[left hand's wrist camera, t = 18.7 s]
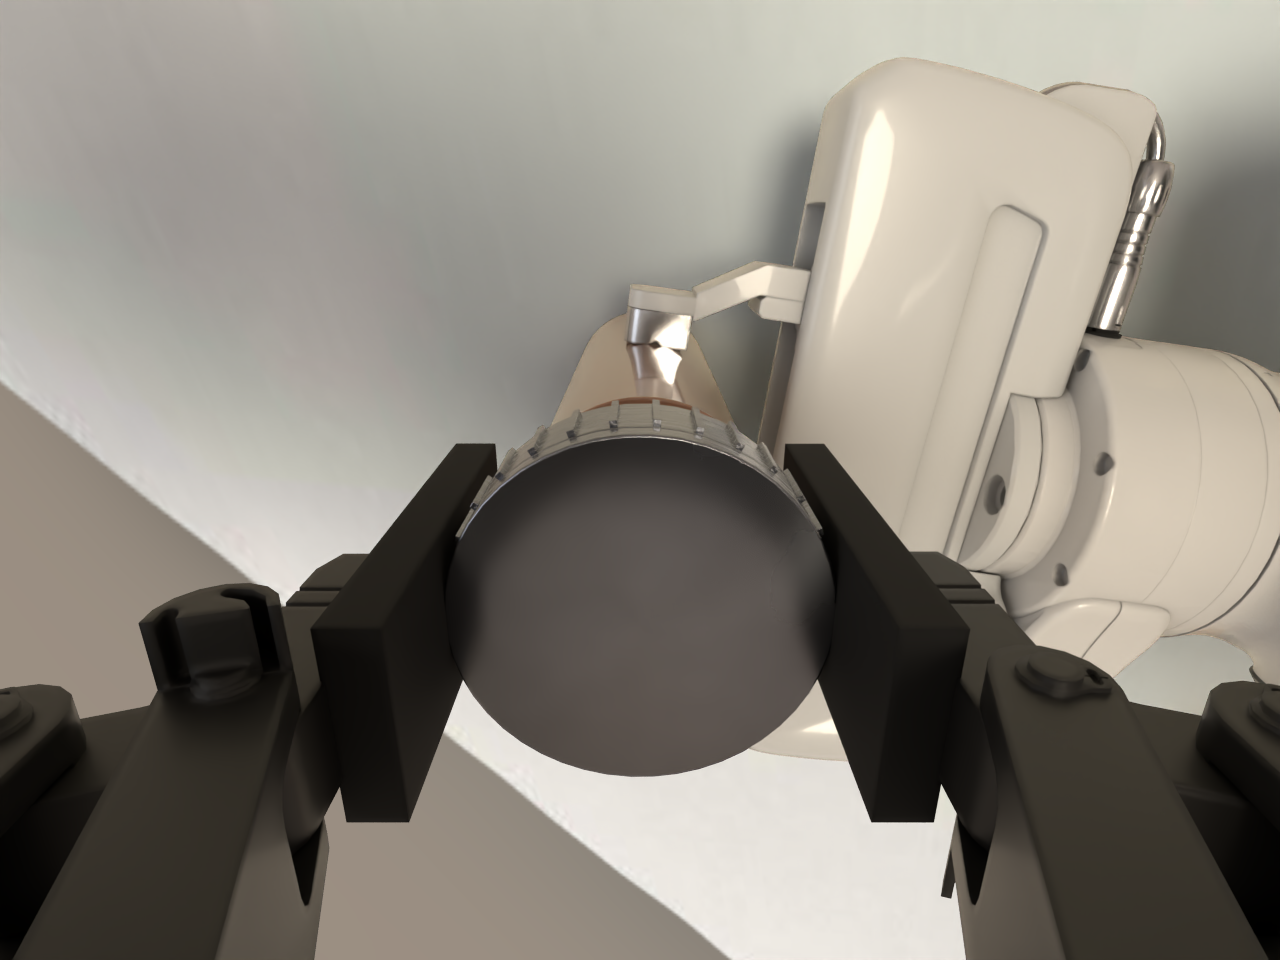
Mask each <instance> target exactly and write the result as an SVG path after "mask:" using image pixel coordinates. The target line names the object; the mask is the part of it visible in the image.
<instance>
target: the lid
mask: <svg viewBox="0 0 1280 960" xmlns="http://www.w3.org/2000/svg"><path fill="white" fill-rule="evenodd" d="M470 508H471V509H470V511H469V512H468V514H467V516H466V518H465V519H464V521H463V523H462V525H461V526H460V528H459V530H458V532H457V533H456V535H455V537H454V540H453V542H455V543H456V545H455V548H454V551H453V554H452V557H451V560H450V563H449V566H448V570H447V576H446V581H445V587H444V602H445V612H446V622H447V631H448V639H449V646H450V649H451V653H452V656H453V659H454V661H455V663H456V666H457V668H458V670H459V672H460V675H461V677H462V679H463V680H464V682H465V683H466V685H467V687H468V688H469V690H470V692H471V693H472V695H473V696H474V697H475V699H476V700H477V701H478V702H479V704H480V705H481V706H482V707H483V709H484V710H485V711H486V712H487V713H488V714H489V715H490V716H491V717H492V718H493V719H494V720H495V721H496V722H497V723H498V724H499V725H500V726H501V727H502V728H503V729H505V730H506V731H507V732H509V733H510V734H511V735H513V736H514V737H515V738H517V739H518V740H519V741H521V742H522V743H524V744H526V745H527V746H529V747H531V748H533V749H534V750H536V751H538V752H540V753H541V754H543V755H546V756H548V757H550V758H553V759H555V760H557V761H559V762H562V763H565V764H568V765H571V766H574V767H577V768H580V769H584V770H588V771H593V772H598V773H603V774H609V775H619V776H630V777H641V776H662V775H671V774H678V773H683V772H687V771H692V770H697V769H701V768H704V767H707V766H710V765H713V764H716V763H719V762H722V761H724V760H726V759H728V758H730V757H732V756H735V755H737V754H739V753H741V752H743V751H745V750H746V749H748V748H750V747H751V746H753V745H755V744H756V743H758V742H760V741H761V740H763V739H764V738H765V737H767V736H768V735H769V734H771V733H772V732H773V731H774V730H776V729H777V728H778V727H780V726H781V725H782V724H783V723H784V722H785V721H786V720H787V719H788V718H789V717H790V716H791V715H792V714H793V713H794V712H795V711H796V710H797V708H798V707H799V706H800V704H801V703H802V702H803V701H804V699H805V698H806V697H807V695H808V694H809V693H810V691H811V690H812V688H813V686H814V684H815V683H816V681H817V679H818V678H819V676H820V674H821V672H822V669H823V667H824V665H825V662H826V660H827V657H828V655H829V652H830V648H831V643H832V635H833V627H834V617H835V608H836V583H835V578H834V573H833V569H832V564H831V561H830V558H829V555H828V553H827V550H826V547H825V545H824V542H823V540H822V538H821V536H820V535H823V534H824V531H823V529H822V527H821V525H820V523H819V521H818V520H817V518H816V516H815V514H814V513H813V511H812V509H811V507H810V506H809V504H808V502H807V501H806V498H805V497H804V495H803V493H802V492H801V490H800V488H799V486H798V485H797V483H796V481H795V479H794V478H793V476H792V474H791V473H790V471H789V470H788V469H786V470H784V471H782V470H781V468H780V467H779V466H778V464H777V463H776V462H775V461H774V459H773V457H772V456H771V454H770V452H769V450H768V448H767V446H766V445H765V444H764V443H763V442H761V443H760V444H759V445H757V444H756V443H755V442H753V441H752V440H751V439H749V438H748V437H747V436H745V435H744V434H743V433H741V432H739V431H738V429H737V427H736V424H735V423H733V422H732V421H729V422H728V424H725V423H723V422H721V421H719V420H716V419H714V418H711V417H709V416H706V415H704V414H701V413H700V410H699V408H697V407H694V406H692V408H691V410H687V409H683V408H679V407H675V406H666V405H660V401H659V400H652V404H622V405H620V404H619V400H616V401H612V404H611V406H607V407H601V408H597V409H594V410H590V411H586V412H583V413H581V411H580V409H577V410H574V411H573V413H572V416H571V417H569V418H567V419H564V420H562V421H560V422H557V423H555V424H553V425H552V426H550V427H548V428H547V429H546V428H545V426H544V425H542V426H540V427H539V428H538V429H537V431H536V433H535V435H534V437H532V438H531V439H530V440H529V441H527V442H526V443H525V444H524V445H522V446H521V447H520V448H518V449H517V450H515V449H514V448H511V449H510V450H509V451H508V453H507V454H506V456H505V458H504V460H503V462H502V463H501V465H500V467H499V469H498V471H497V473H496V474H495V476H494V477H493V478H492V477H491V476H489V475H488V476H487V478H486V479H485V481H484V483H483V485H482V486H481V488H480V490H479V491H478V493H477V495H476V497H475V498H474V500H473V502H472V504H471V505H470Z"/></svg>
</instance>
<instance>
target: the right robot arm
mask: <svg viewBox="0 0 1280 960" xmlns="http://www.w3.org/2000/svg"><path fill="white" fill-rule="evenodd" d="M1146 145H1147V151H1146V160H1141V159H1142V156H1143V153H1144V150H1145V148H1146ZM1165 147H1166V138H1165V132H1164V127H1163V123H1162V120H1161V118H1160V116H1159V114H1158V113H1157V109H1156V106H1155V104H1154V103H1153V102H1152V101H1151V100H1149V99H1148V98H1146V97H1144V96H1143V95H1140V94H1137V93H1135V92H1132V91H1130V90H1127V89H1120V88H1114V87H1108V86H1101V85H1095V84H1089V83H1082V82H1066V83H1061V84H1056V85H1053V86H1051V87H1048V88H1046V89H1043V90H1042V91H1040V92H1037V91H1034V90H1031V89H1028V88H1025V87H1022V86H1020V85H1017V84H1014V83H1011V82H1008V81H1005V80H1002V79H998V78H995V77H991V76H988V75H985V74H981V73H978V72H974V71H970V70H967V69H963V68H959V67H955V66H951V65H946V64H942V63H938V62H933V61H928V60H923V59H917V58H908V57H900V58H894V59H890V60H886V61H884V62H881V63H879V64H877V65H875V66H873V67H871V68H870V69H868V70H866V71H864V72H863V73H861V74H860V75H858V76H857V77H856V78H854V79H853V80H852V81H851V82H849V83H848V84H847V85H846V86H845V87H843V88H842V89H841V90H840V91H839V92H838V93H836V94H835V95H834V96H833V97H832V98H831V99H830V101H829V102H828V103H827V105H826V107H825V110H824V113H823V117H822V122H821V127H820V132H819V136H818V141H817V146H816V151H815V156H814V161H813V166H812V171H811V176H810V181H809V186H808V191H807V196H806V201H805V206H804V211H803V216H802V221H801V226H800V231H799V236H798V241H797V246H796V251H795V256H794V260H793V265H792V266H788V265H781V264H774V263H766V262H759V261H753V262H751V263H749V264H746V265H744V266H741V267H739V268H737V269H734V270H732V271H730V272H727V273H725V274H723V275H720V276H718V277H715V278H713V279H711V280H708V281H706V282H704V283H701V284H699V285H696V286H694V287H693V288H692V291H685V290H678V289H671V288H664V287H657V286H650V285H637V284H631V286H630V293H629V300H628V307H627V315H626V324H625V333H624V340H625V341H627V342H630V343H634V344H640V345H643V344H645V345H649V344H651V343H653V342H655V341H657V342H658V343H659V344H660V345H661V346H662V347H666V348H669V349H677V350H684V351H687V345H688V340H689V334H690V329H691V323H692V321H693V322H695V321H697V320H700V319H702V318H705V317H707V316H710V315H713V314H715V313H718V312H720V311H723V310H725V309H728V308H730V307H733V306H735V305H738V304H740V303H743V302H745V301H748V300H749V301H748V306H749V307H750V309H751V310H752V311H753V312H755V313H756V314H757V315H758V316H760V317H761V318H763V319H769V320H776V321H781V325H780V330H779V335H778V340H777V345H776V350H775V355H774V360H773V365H772V370H771V375H770V379H769V384H768V389H767V394H766V399H765V404H764V409H763V414H762V419H761V424H760V429H759V434H758V439H757V445H759V444H760V443H761V442H763V443H764V444H765V445H766V446H767V448H768V450H769V452H770V454H771V456H772V457H773V459H774V461H775V462H776V463H777V464H778V466H779V467H780V468H781V470H782V471H783V465H784V452H785V444H825V445H826V447H827V448H828V449H829V450H830V452H831V453H832V454H833V455H834V457H835V458H836V459H837V460H838V462H839V463H840V464H841V466H842V467H843V468H844V469H845V471H846V472H847V473H848V474H849V476H850V477H851V478H852V479H853V481H854V482H855V483H856V485H857V486H858V487H859V488H860V490H861V491H862V492H863V493H864V495H865V496H866V497H867V498H868V500H869V501H870V502H871V504H872V505H873V506H874V507H875V509H876V510H877V511H878V512H879V514H880V515H881V516H882V517H883V519H884V520H885V521H886V523H887V524H888V525H889V526H890V528H891V529H892V530H893V531H894V533H895V534H896V535H897V536H898V538H899V539H900V540H901V542H902V543H903V544H904V545H905V547H906V548H907V549H908V550H909V551H938V552H939V553H941V554H943V555H945V556H946V557H948V558H950V559H952V560H953V561H955V562H957V563H959V564H961V565H962V566H964V567H965V568H966V569H967V570H968V571H969V572H970V573H971V574H972V575H973V576H974V578H975V579H976V580H977V581H978V582H979V583H980V584H981V588H982V589H985V590H986V591H987V592H988V593H989V594H990V595H991V596H992V597H993V598H994V599H995V604H999V605H1000V606H1001V607H1002V608H1003V609H1004V610H1005V612H1006V613H1007V614H1008V615H1009V616H1010V617H1011V618H1012V619H1013V620H1014V621H1015V623H1016V624H1017V625H1018V626H1019V627H1020V628H1021V629H1022V630H1023V631H1024V632H1025V633H1026V635H1027V636H1028V637H1029V638H1030V639H1031V640H1032V641H1033V642H1034V643H1035V644H1036V645H1037V646H1044V647H1048V648H1052V649H1056V650H1061V651H1065V652H1068V653H1070V654H1072V655H1075V656H1077V657H1080V658H1082V659H1084V660H1087V661H1089V662H1091V663H1092V664H1094V665H1095V666H1097V667H1099V668H1100V669H1102V670H1103V671H1105V672H1106V673H1108V674H1109V675H1110V676H1111V677H1112V678H1114V677H1115V676H1117V675H1118V674H1119V673H1120V672H1121V671H1122V670H1123V669H1124V668H1125V667H1126V666H1128V665H1129V664H1130V663H1131V662H1132V661H1134V660H1135V659H1136V658H1137V657H1139V656H1140V655H1141V654H1142V653H1143V652H1145V651H1146V650H1147V649H1148V648H1150V647H1151V646H1152V645H1153V644H1154V643H1155V642H1156V641H1157V640H1158V639H1159V638H1160V637H1173V636H1184V635H1204V636H1210V637H1214V638H1218V639H1221V640H1223V641H1226V642H1228V643H1230V644H1232V645H1234V646H1236V647H1238V648H1239V649H1241V650H1243V651H1245V652H1246V653H1247V654H1248V655H1249V656H1250V657H1251V659H1252V661H1253V666H1251V667H1250V668H1249V670H1250V673H1251V675H1252V677H1253V679H1254V681H1255V683H1263V684H1275V685H1279V686H1280V372H1273V371H1270V370H1268V369H1266V368H1264V367H1262V366H1260V365H1259V364H1257V363H1255V362H1253V361H1250V360H1248V359H1246V358H1243V357H1240V356H1237V355H1234V354H1231V353H1227V352H1224V351H1220V350H1213V349H1207V348H1199V347H1192V346H1186V345H1179V344H1172V343H1165V342H1158V341H1151V340H1144V339H1137V338H1130V337H1125V336H1122V335H1120V334H1119V332H1120V329H1121V326H1122V323H1123V321H1124V318H1125V315H1126V313H1127V310H1128V307H1129V304H1130V302H1131V299H1132V296H1133V293H1134V291H1135V288H1136V285H1137V282H1138V279H1139V275H1140V272H1141V267H1140V266H1141V265H1142V263H1143V259H1144V257H1142V256H1143V255H1144V254H1145V250H1146V247H1145V245H1146V244H1147V243H1148V240H1149V237H1150V236H1149V234H1150V233H1151V231H1152V229H1153V226H1154V223H1155V221H1156V218H1157V217H1160V215H1161V213H1162V211H1163V209H1164V207H1165V205H1166V202H1167V200H1168V197H1169V194H1170V191H1171V187H1172V182H1173V177H1174V170H1175V165H1174V164H1173V163H1171V162H1168V161H1164V157H1165ZM749 749H752V750H755V751H758V752H763V753H768V754H774V755H782V756H790V757H798V758H808V759H819V760H832V761H848V759H847V756H846V754H845V751H844V748H843V746H842V743H841V740H840V738H839V735H838V732H837V730H836V727H835V725H834V722H833V719H832V717H831V714H830V711H829V709H828V706H827V703H826V701H825V698H824V695H823V693H822V690H821V687H820V685H819V682H818V680H817V681H816V683H815V684H814V686H813V688H812V690H811V691H810V693H809V694H808V695H807V697H806V698H805V699H804V701H803V702H802V703H801V704H800V706H799V707H798V708H797V710H796V711H795V712H794V713H793V714H792V715H791V716H790V717H789V718H788V719H787V720H786V721H785V722H784V723H783V724H782V725H781V726H780V727H778V728H777V729H776V730H774V731H773V732H772V733H771V734H769V735H768V736H767V737H765V738H764V739H763V740H761V741H760V742H758V743H756V744H755V745H753V746H751V747H750V748H749Z"/></svg>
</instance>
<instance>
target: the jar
mask: <svg viewBox="0 0 1280 960" xmlns="http://www.w3.org/2000/svg"><path fill="white" fill-rule="evenodd" d="M626 315H627V313H626V314H622V315H619V316H617V317H615V318H613V319H611V320H610V321H608V322H607V323H605V324H604V325H603V326H601V327H600V328H599V329H598V330H597V331H596V332H595V334H594V335H593V336H592V337H591V339H590V340H589V342H588V344H587V346H586V348H585V350H584V352H583V354H582V356H581V359H580V361H579V363H578V365H577V368H576V370H575V372H574V374H573V377H572V379H571V381H570V383H569V386H568V388H567V390H566V392H565V395H564V397H563V399H562V401H561V404H560V406H559V408H558V410H557V413H556V415H555V417H554V419H553V422H552V424H551V426H552V425H553V424H555V423H557V422H560V421H562V420H564V419H567V418H569V417H571V416H572V413H573V411H574V410H577V409H580V411H581V413H583V412H586V411H590V410H594V409H597V408H601V407H607V406H611V404H612V401H616V400H619V404H620V405H622V404H652V400H659V401H660V405H666V406H675V407H679V408H683V409H687V410H691V408H692V406H694V407H697V408H699V410H700V413H701V414H704V415H706V416H709V417H711V418H714V419H716V420H719V421H721V422H723V423H725V424H728V422H729V421H732V422H733V423H734V421H733V419H732V416H731V414H730V412H729V410H728V408H727V405H726V403H725V401H724V399H723V397H722V394H721V392H720V390H719V388H718V386H717V383H716V381H715V379H714V377H713V375H712V372H711V370H710V368H709V366H708V364H707V361H706V359H705V357H704V355H703V353H702V350H701V348H700V346H699V344H698V342H697V341H696V339H695V338H694V336H693V335H692V334H691V333H690V334H689V340H688V345H687V351H684V350H677V349H669V348H666V347H662V346H661V345H660V344H659V343H658V342H657V341H655V342H653V343H651V344H649V345H645V344H643V345H640V344H634V343H630V342H627V341H625V340H624V333H625V324H626Z"/></svg>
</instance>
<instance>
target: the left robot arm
mask: <svg viewBox="0 0 1280 960" xmlns="http://www.w3.org/2000/svg"><path fill="white" fill-rule="evenodd" d="M786 469H788V470H789V471H790V473H791V474H792V476H793V478H794V479H795V481H796V483H797V485H798V486H799V488H800V490H801V492H802V493H803V495H804V497H805V498H806V501H807V502H808V504H809V506H810V507H811V509H812V511H813V513H814V514H815V516H816V518H817V520H818V521H819V523H820V525H821V527H822V529H823V531H824V534H823V535H820V536H821V538H822V540H823V542H824V545H825V547H826V550H827V553H828V555H829V558H830V561H831V564H832V569H833V573H834V578H835V583H836V608H835V617H834V627H833V635H832V643H831V648H830V652H829V655H828V657H827V660H826V662H825V665H824V667H823V669H822V672H821V674H820V676H819V678H818V679H817V680H818V682H819V685H820V687H821V690H822V693H823V695H824V698H825V701H826V703H827V706H828V709H829V711H830V714H831V717H832V719H833V722H834V725H835V727H836V730H837V732H838V735H839V738H840V740H841V743H842V746H843V748H844V751H845V754H846V756H847V759H848V762H849V764H850V767H851V770H852V772H853V775H854V777H855V780H856V783H857V785H858V788H859V791H860V793H861V796H862V799H863V801H864V804H865V807H866V809H867V812H868V814H869V817H870V820H871V822H934V819H935V813H936V808H937V803H938V798H939V792H940V787H941V784H942V786H943V788H944V790H945V792H946V794H947V796H948V798H949V799H950V801H951V803H952V805H953V807H954V809H955V811H956V813H957V815H956V820H955V825H954V830H953V835H952V840H951V845H950V850H949V855H948V860H947V865H946V869H945V874H944V879H943V886H942V893H941V896H942V897H946V898H951V897H952V892H953V887H954V883H955V882H956V889H957V896H958V903H959V911H960V918H961V925H962V933H963V940H964V947H965V954H966V960H1280V686H1279V685H1275V684H1263V683H1255V682H1247V681H1237V682H1227V683H1221V684H1220V685H1218V686H1217V687H1215V688H1214V689H1212V690H1211V691H1210V694H1209V697H1208V699H1207V702H1206V705H1205V708H1204V711H1203V714H1202V716H1199V715H1194V714H1188V713H1183V712H1178V711H1173V710H1167V709H1162V708H1157V707H1152V706H1146V705H1141V704H1137V703H1133V702H1129V701H1128V699H1127V697H1126V695H1125V693H1124V691H1123V690H1122V688H1121V687H1120V686H1119V685H1118V684H1117V683H1116V681H1115V680H1114V679H1113V678H1112V677H1111V676H1110V675H1109V674H1108V673H1106V672H1105V671H1103V670H1102V669H1100V668H1099V667H1097V666H1095V665H1094V664H1092V663H1091V662H1089V661H1087V660H1084V659H1082V658H1080V657H1077V656H1075V655H1072V654H1070V653H1068V652H1065V651H1061V650H1056V649H1052V648H1048V647H1044V646H1037V645H1036V644H1035V643H1034V642H1033V641H1032V640H1031V639H1030V638H1029V637H1028V636H1027V635H1026V633H1025V632H1024V631H1023V630H1022V629H1021V628H1020V627H1019V626H1018V625H1017V624H1016V623H1015V621H1014V620H1013V619H1012V618H1011V617H1010V616H1009V615H1008V614H1007V613H1006V612H1005V610H1004V609H1003V608H1002V607H1001V606H1000V605H999V604H995V599H994V598H993V597H992V596H991V595H990V594H989V593H988V592H987V591H986V590H985V589H982V588H981V584H980V583H979V582H978V581H977V580H976V579H975V578H974V576H973V575H972V574H971V573H970V572H969V571H968V570H967V569H966V568H965V567H964V566H962V565H961V564H959V563H957V562H955V561H953V560H952V559H950V558H948V557H946V556H945V555H943V554H941V553H939V552H938V551H909V550H908V549H907V548H906V547H905V545H904V544H903V543H902V542H901V540H900V539H899V538H898V536H897V535H896V534H895V533H894V531H893V530H892V529H891V528H890V526H889V525H888V524H887V523H886V521H885V520H884V519H883V517H882V516H881V515H880V514H879V512H878V511H877V510H876V509H875V507H874V506H873V505H872V504H871V502H870V501H869V500H868V498H867V497H866V496H865V495H864V493H863V492H862V491H861V490H860V488H859V487H858V486H857V485H856V483H855V482H854V481H853V479H852V478H851V477H850V476H849V474H848V473H847V472H846V471H845V469H844V468H843V467H842V466H841V464H840V463H839V462H838V460H837V459H836V458H835V457H834V455H833V454H832V453H831V452H830V450H829V449H828V448H827V447H826V445H825V444H785V452H784V465H783V471H784V470H786ZM496 473H497V459H496V446H495V444H456V445H455V446H454V447H453V448H452V450H451V451H450V452H449V453H448V455H447V456H446V457H445V459H444V460H443V461H442V462H441V464H440V465H439V466H438V467H437V469H436V470H435V471H434V472H433V474H432V475H431V476H430V478H429V479H428V480H427V481H426V483H425V484H424V485H423V486H422V488H421V489H420V490H419V491H418V493H417V494H416V495H415V497H414V498H413V499H412V500H411V502H410V503H409V504H408V505H407V507H406V508H405V509H404V510H403V512H402V513H401V514H400V516H399V517H398V518H397V519H396V521H395V522H394V523H393V524H392V526H391V527H390V528H389V529H388V531H387V532H386V533H385V535H384V536H383V537H382V538H381V540H380V541H379V542H378V543H377V545H376V546H375V547H374V548H373V550H372V551H371V552H370V554H342V555H340V556H339V557H337V558H335V559H333V560H332V561H330V562H328V563H326V564H325V565H323V566H321V567H319V568H318V569H316V570H315V571H314V572H313V573H312V574H311V576H310V577H309V578H308V579H307V580H306V581H305V582H304V583H303V584H302V586H301V587H300V591H296V592H295V593H294V594H293V595H292V597H291V598H290V599H289V600H288V601H287V602H286V607H282V608H281V603H280V598H279V594H278V593H277V592H275V591H274V590H272V589H271V588H269V587H268V586H263V585H257V584H252V583H240V584H224V585H219V586H214V587H209V588H204V589H199V590H196V591H193V592H191V593H188V594H185V595H182V596H179V597H176V598H174V599H172V600H170V601H168V602H166V603H164V604H163V605H161V606H159V607H157V608H155V609H154V610H152V611H151V612H150V613H149V614H148V615H147V616H146V617H145V618H144V619H143V620H141V621H140V622H139V627H140V630H141V634H142V637H143V641H144V644H145V648H146V651H147V654H148V658H149V662H150V665H151V669H152V672H153V675H154V679H155V682H156V686H157V689H158V691H157V693H156V695H155V696H154V698H153V700H152V702H151V704H150V705H149V706H145V707H141V708H136V709H130V710H125V711H120V712H115V713H110V714H104V715H99V716H94V717H89V718H83V719H80V718H79V715H78V712H77V709H76V706H75V704H74V701H73V698H72V695H71V694H70V693H69V692H67V691H66V690H65V689H63V688H62V687H60V686H51V685H42V684H37V685H29V686H21V687H9V688H5V689H0V960H314V956H315V949H316V942H317V934H318V927H319V919H320V912H321V905H322V898H323V890H324V883H325V876H326V869H327V861H328V854H329V843H328V836H327V830H326V825H325V820H324V816H325V814H326V812H327V810H328V808H329V806H330V804H331V802H332V800H333V798H334V797H335V795H336V793H337V791H338V789H339V787H340V790H341V795H342V800H343V805H344V811H345V816H346V821H347V822H409V821H410V818H411V816H412V813H413V810H414V808H415V805H416V802H417V800H418V797H419V794H420V792H421V789H422V787H423V784H424V781H425V779H426V776H427V773H428V771H429V768H430V765H431V763H432V760H433V757H434V755H435V752H436V750H437V747H438V744H439V742H440V739H441V736H442V734H443V731H444V728H445V726H446V723H447V720H448V718H449V715H450V712H451V710H452V707H453V705H454V702H455V699H456V697H457V694H458V691H459V689H460V686H461V683H462V681H463V679H462V677H461V675H460V672H459V670H458V668H457V666H456V663H455V661H454V659H453V656H452V653H451V649H450V646H449V639H448V631H447V622H446V612H445V602H444V587H445V581H446V576H447V570H448V566H449V563H450V560H451V557H452V554H453V551H454V548H455V545H456V543H455V542H453V540H454V537H455V535H456V533H457V532H458V530H459V528H460V526H461V525H462V523H463V521H464V519H465V518H466V516H467V514H468V512H469V511H470V509H471V508H470V505H471V504H472V502H473V500H474V498H475V497H476V495H477V493H478V491H479V490H480V488H481V486H482V485H483V483H484V481H485V479H486V478H487V476H488V475H489V476H491V477H492V478H493V477H494V476H495V474H496Z"/></svg>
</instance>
